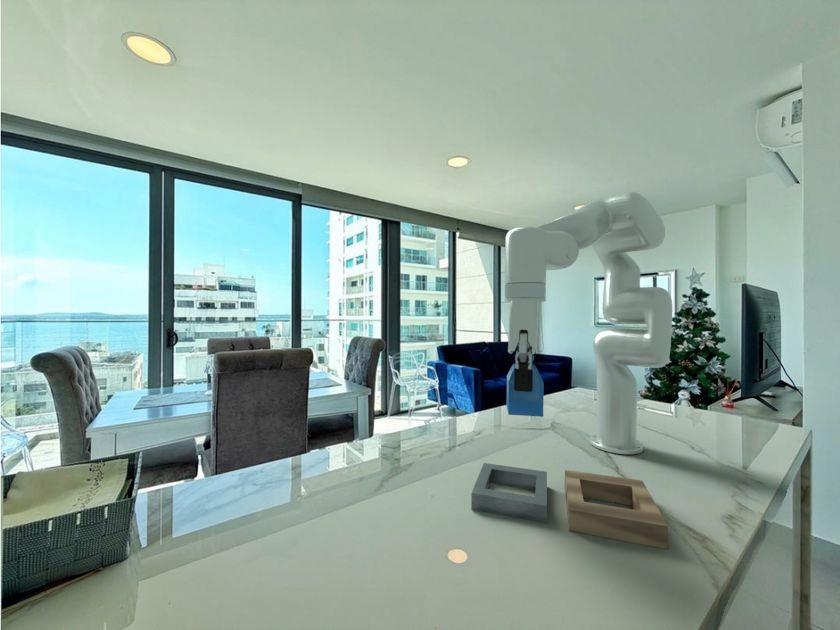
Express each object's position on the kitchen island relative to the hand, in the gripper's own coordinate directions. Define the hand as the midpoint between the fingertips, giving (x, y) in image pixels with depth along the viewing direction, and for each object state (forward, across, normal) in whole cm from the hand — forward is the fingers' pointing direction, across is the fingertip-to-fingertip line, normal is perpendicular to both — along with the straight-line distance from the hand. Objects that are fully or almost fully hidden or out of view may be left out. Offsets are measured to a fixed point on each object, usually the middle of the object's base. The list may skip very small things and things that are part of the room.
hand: (524, 386), depth 71 cm
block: (+22, 0, -2) cm, 22 cm away
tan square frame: (+22, 0, +15) cm, 26 cm away
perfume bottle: (+5, 0, 0) cm, 5 cm away
